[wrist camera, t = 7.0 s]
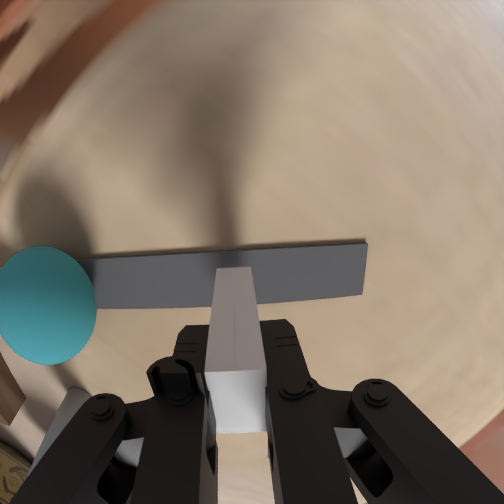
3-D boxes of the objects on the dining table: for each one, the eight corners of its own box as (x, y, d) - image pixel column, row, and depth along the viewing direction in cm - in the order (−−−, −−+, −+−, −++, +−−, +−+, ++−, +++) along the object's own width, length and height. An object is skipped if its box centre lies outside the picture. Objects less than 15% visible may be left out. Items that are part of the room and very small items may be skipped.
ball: (-14, 250, 11) (73, 226, 15) (16, 342, 13) (93, 316, 16) (-33, 283, 7) (94, 246, 10) (21, 402, 8) (124, 364, 12)
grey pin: (88, 389, 17) (47, 482, 9) (99, 409, 18) (66, 498, 10) (64, 385, 17) (20, 471, 9) (75, 405, 18) (40, 488, 9)
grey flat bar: (366, 242, 15) (367, 244, 14) (360, 292, 16) (362, 294, 15) (74, 259, 14) (72, 260, 14) (87, 306, 15) (85, 308, 15)
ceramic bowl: (-42, 411, 21) (-74, 465, 7) (-25, 398, 19) (-70, 472, 5) (49, 490, 28) (32, 545, 14) (94, 494, 26) (78, 568, 12)
